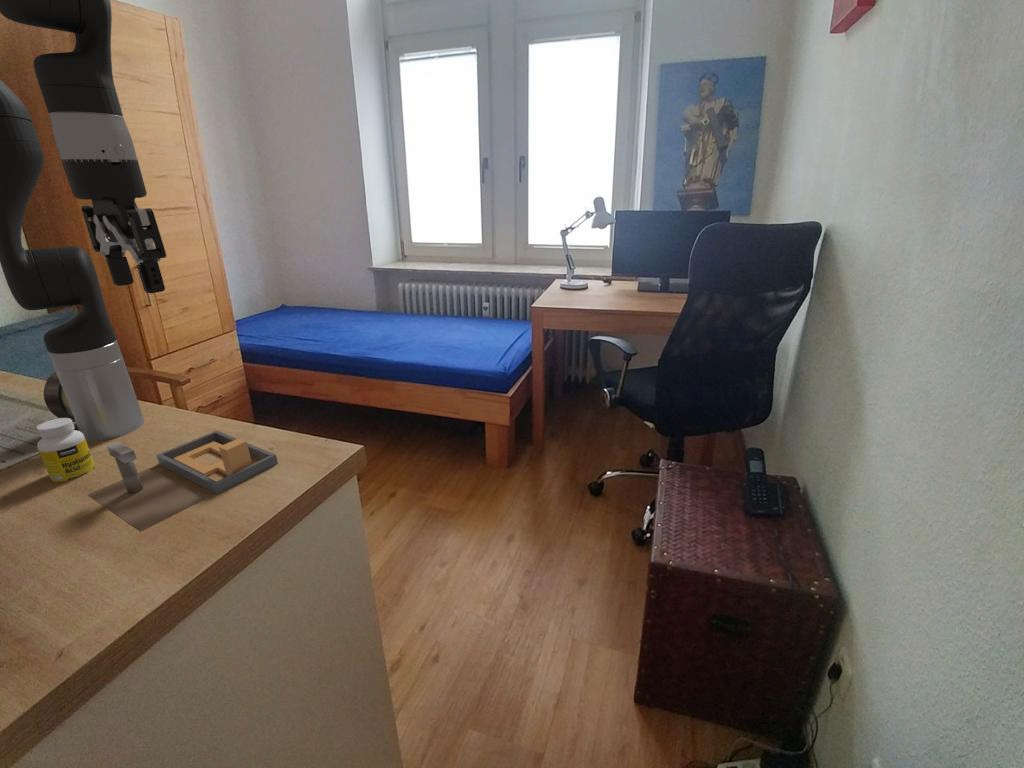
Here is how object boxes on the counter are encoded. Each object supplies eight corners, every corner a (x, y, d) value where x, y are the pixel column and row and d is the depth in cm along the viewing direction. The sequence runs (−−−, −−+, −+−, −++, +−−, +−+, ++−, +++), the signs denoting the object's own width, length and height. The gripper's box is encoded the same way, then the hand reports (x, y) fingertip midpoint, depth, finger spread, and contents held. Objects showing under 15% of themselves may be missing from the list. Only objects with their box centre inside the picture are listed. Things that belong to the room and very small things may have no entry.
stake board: (91, 503, 71) (70, 451, 68) (152, 476, 78) (135, 428, 74) (144, 540, 63) (123, 484, 60) (207, 507, 70) (191, 455, 66)
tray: (161, 471, 79) (156, 455, 78) (221, 445, 86) (216, 430, 85) (219, 502, 71) (214, 484, 69) (279, 471, 78) (275, 454, 77)
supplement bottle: (71, 492, 74) (46, 433, 70) (45, 487, 76) (19, 429, 72) (107, 473, 79) (85, 417, 75) (82, 468, 80) (59, 414, 77)
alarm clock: (76, 438, 91) (42, 353, 85) (52, 436, 92) (17, 352, 86) (130, 412, 101) (103, 335, 94) (108, 410, 102) (80, 334, 96)
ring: (176, 466, 79) (165, 432, 77) (216, 449, 84) (207, 416, 82) (225, 491, 72) (214, 455, 70) (265, 471, 77) (257, 436, 75)
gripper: (38, 157, 62) (83, 287, 68) (89, 155, 55) (134, 300, 61) (108, 158, 67) (144, 278, 74) (162, 156, 61) (196, 289, 67)
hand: (139, 288), depth 68 cm, fingers open, 8 cm apart
